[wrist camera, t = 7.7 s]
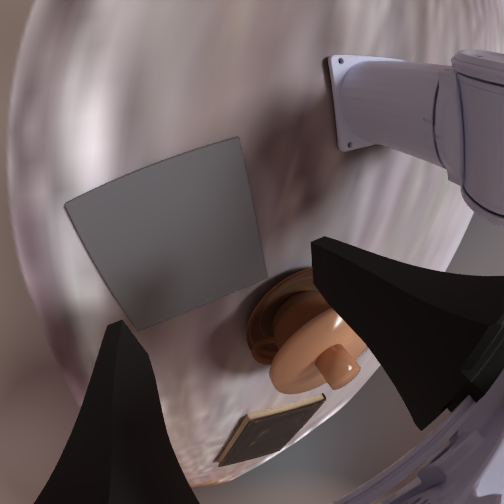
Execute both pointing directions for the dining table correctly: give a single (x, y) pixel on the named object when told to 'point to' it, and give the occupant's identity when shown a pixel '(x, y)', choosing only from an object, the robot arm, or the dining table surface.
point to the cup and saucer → (283, 314)
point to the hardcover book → (269, 430)
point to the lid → (317, 356)
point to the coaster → (174, 232)
